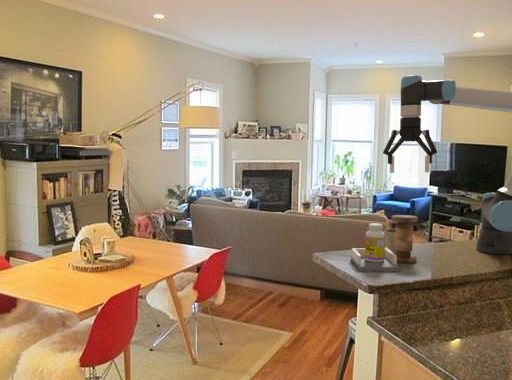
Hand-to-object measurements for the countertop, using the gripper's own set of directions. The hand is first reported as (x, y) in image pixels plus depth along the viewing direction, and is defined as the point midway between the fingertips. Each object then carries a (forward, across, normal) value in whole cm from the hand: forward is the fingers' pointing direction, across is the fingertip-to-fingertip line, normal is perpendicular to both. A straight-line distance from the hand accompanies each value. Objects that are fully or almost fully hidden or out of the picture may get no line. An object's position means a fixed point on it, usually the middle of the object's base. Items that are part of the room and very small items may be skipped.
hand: (409, 172), depth 187 cm
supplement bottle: (+30, +18, +20) cm, 40 cm away
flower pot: (+31, +5, +1) cm, 32 cm away
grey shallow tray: (+31, +19, +21) cm, 42 cm away
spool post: (+31, +6, +14) cm, 35 cm away
